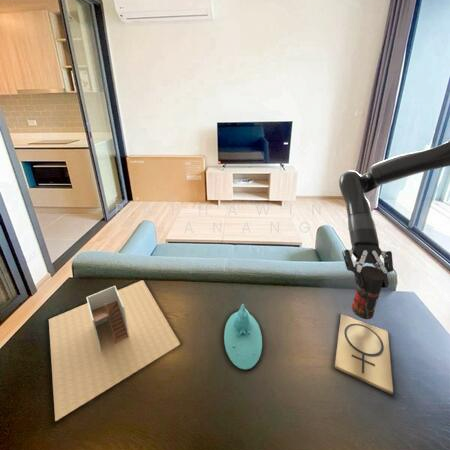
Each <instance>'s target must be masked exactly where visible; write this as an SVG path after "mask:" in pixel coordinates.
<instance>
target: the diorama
mask: <svg viewBox="0 0 450 450" xmlns="http://www.w3.org/2000/svg"><path fill="white" fill-rule="evenodd" d="M223 333H224V334H223V340H224V347H225V352H226V355H227V356H228V358H229V360H230V361H231V362H232V364H233V365H234V366H235V367H237V368H238V369H240V370H245V371H246V370H250V369H252V368H253V367H254V366H256V364H257V363H258V361H259V360H260V357H261V354H262V351H263V350H262V349H263V336H262V332H261V328H260V325H259V323H258V321H257V320H256V319H255V317H254V316H253V315H252V314H251V313H250V312H249V311H248V309H246V307H245V303H242V304H241V305H240V307H239V310H238V311H236V312H234V313H232V314H231V315H230V316H229V318H228V319H227V321H226V324H225V327H224V332H223Z"/></svg>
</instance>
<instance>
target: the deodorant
mask: <svg viewBox="0 0 450 450" xmlns="http://www.w3.org/2000/svg"><path fill="white" fill-rule="evenodd" d="M361 273H362V276H363V282H364V287H359V286H358V284H356V289H355V292H354V297H353V301H352V305H351V310H352V312H353V314H354V315H356V316H357V317H358V318H361V319H364V320H371V319H373V318H374V314H375V312H376V309H377V304H378V301H379V297H380V293H381V291H382V284H383V280H384V277H385V276H384V273H383V272H382V271H381V270H379V269H377V268H375V267H374V266H373V265H372V266H371V265H363V266H362V269H361Z"/></svg>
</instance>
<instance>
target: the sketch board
mask: <svg viewBox="0 0 450 450" xmlns="http://www.w3.org/2000/svg"><path fill="white" fill-rule="evenodd" d="M337 335H338V336H337V344H336V351H335V359H334V360H335V361H334V369H336V370H339V371H341V372H343V373H345V374H347V375H348V376H351V377H354V378H355V379H358V380H360V381H362V382H364V383H366V384H368V385H370V386H373V387H375V388H377V389H380V390H381V391H384V392H386V393H387V394H390V395H393V394H394V385H393V374H392V364H391V350H390V341H389V339H390V338H389V331H388V330H386V329H383V328H380V327H377V326H374V325H372V324H369V323H367V322H365V321H361V320H359V319H356V318H353V317H350V316H348V315H345V314H342V313H341V314H340V320H339V327H338V334H337Z"/></svg>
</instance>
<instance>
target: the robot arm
mask: <svg viewBox="0 0 450 450" xmlns="http://www.w3.org/2000/svg"><path fill="white" fill-rule="evenodd" d="M446 167H450V140H448V141H446V142H444V143H441V144H440V145H437V146H433V147H431V148H428V149H424V150H420V151H414V152H410V153H404V154H400V155H399V154H398V155H396V156H392V157H390V158H387V159H385V160H382V161H379V162H377V163H374V164H373V165H371V166H369V168H368V171H367V172H365V173H363V174H360V173H359V172H357V171H355V170H346V171H344V172H342V174H341V175H340V177H339V180H338V183H339V184H338V185H339V186H338V187H339V190H340V193H341V195H342V198H343V201H344V204H345V209H346V215H347V228H348V229H347V230H348V233H349V238H350V245H351V249H344V250H342V252H341V254H342V257H343V261H344V264H345V268H346V270H347V271H348V272H352V273H353V274H354V281H355V283H356V285H357V284H358V286H359V287H364V282H363V276H362V273H361V269H362V267H364V266H365V264H370V265H372V267H375V268H377V269H379V270H381V271H382V272H383V273H384V276H385V277H384V280H383V284H382V287H381V289H387V288H388V286H389V285H390V281H389V278H388V273H392V272H394V260H393V252H392V251H391V250H387V251H386V250H382V249H381V248H380V241H379V237H378V232H377V229H376V228H377V227H376V223H375V219H374V217H373V213H372V208H371V204H370V201H369V200H368V199H367V197H366V195H365V194H369V193H370V192H372V191H373V190H376V189H378V188H379V187H381V186H382V185H385V184H389V183H392V182H395V181H399V180H401V179H405V178H407V177H410V176H414V175H418V174H421V173H425V172H428V171H433V170H438V169H441V168H446ZM352 256H354V258H355V261H354V262H353V259H352ZM381 258H382V259H383V261H382V259H381Z"/></svg>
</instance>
